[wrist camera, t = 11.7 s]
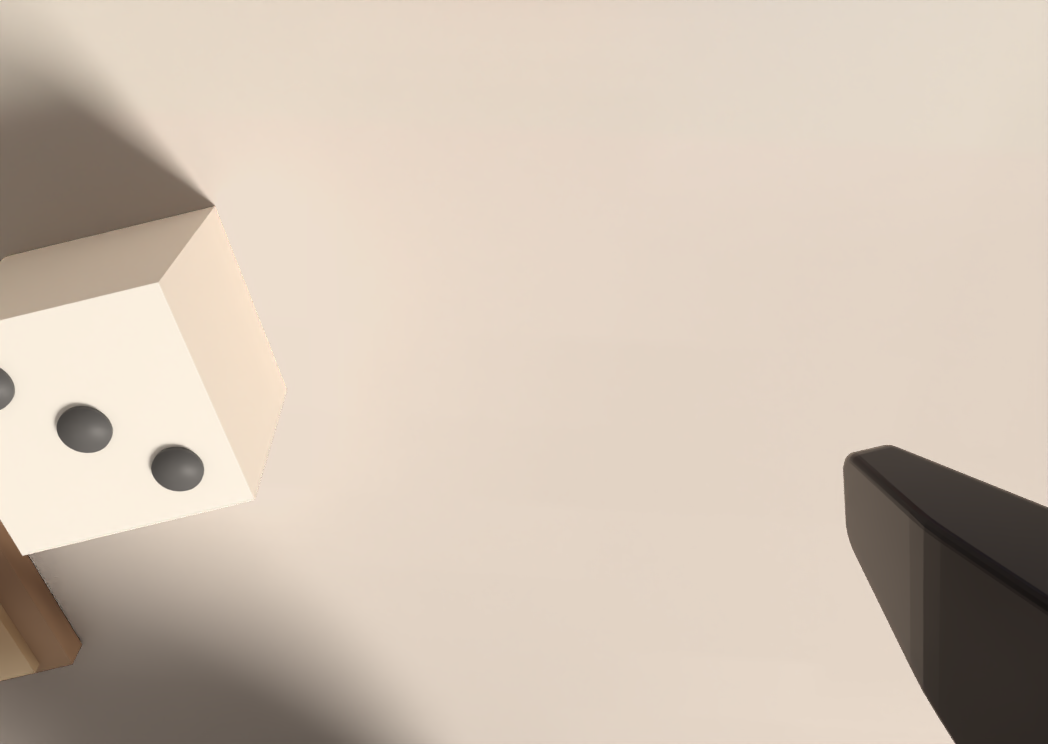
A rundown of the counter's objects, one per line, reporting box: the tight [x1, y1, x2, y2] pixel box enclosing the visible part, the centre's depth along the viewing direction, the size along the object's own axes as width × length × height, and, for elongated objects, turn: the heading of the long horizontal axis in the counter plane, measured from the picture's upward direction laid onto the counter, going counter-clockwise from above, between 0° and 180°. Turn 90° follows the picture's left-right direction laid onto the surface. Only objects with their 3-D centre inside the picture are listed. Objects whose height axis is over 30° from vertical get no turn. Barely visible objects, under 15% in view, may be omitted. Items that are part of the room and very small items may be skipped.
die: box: [0, 206, 287, 556], centre depth 17 cm, size 4×4×5 cm
